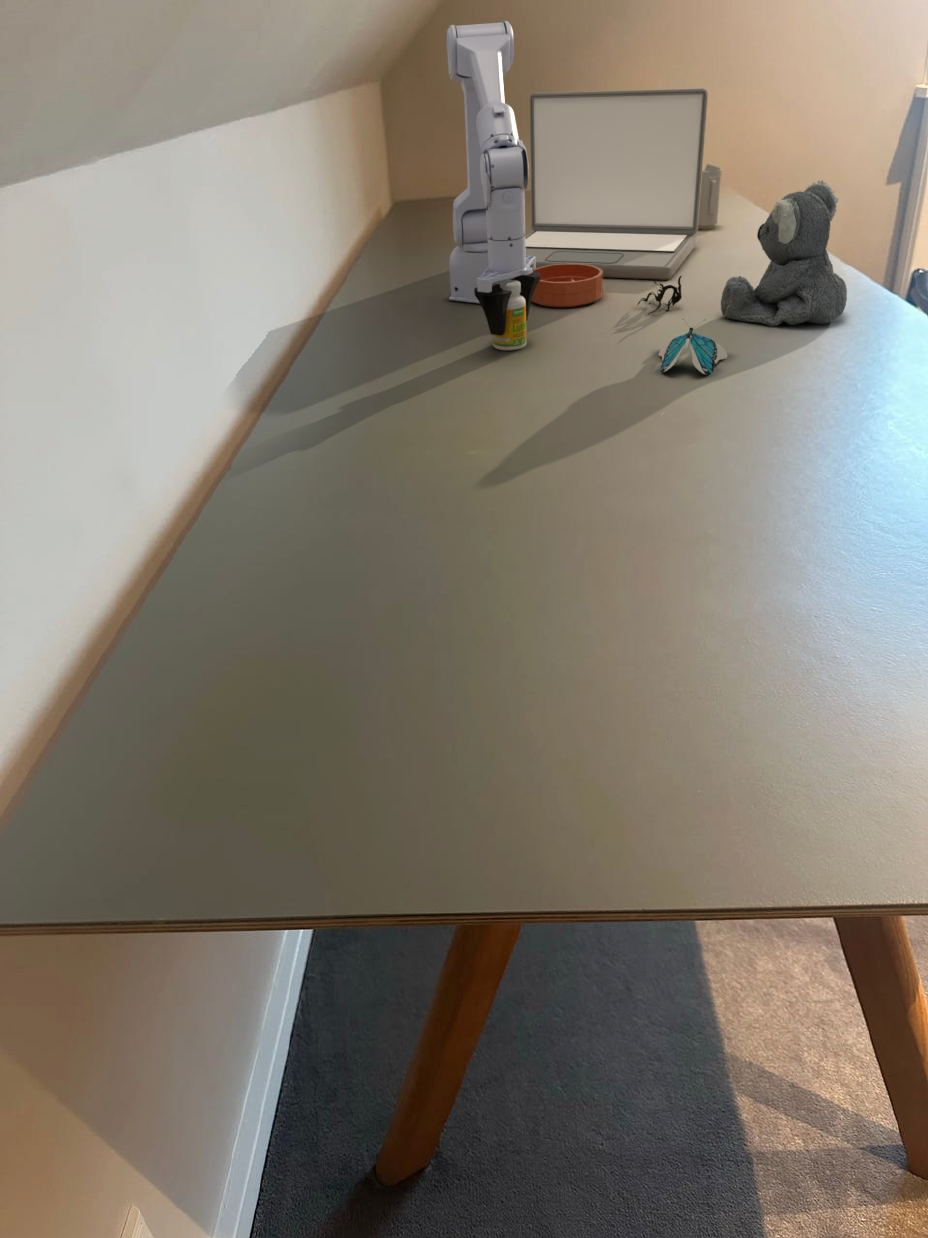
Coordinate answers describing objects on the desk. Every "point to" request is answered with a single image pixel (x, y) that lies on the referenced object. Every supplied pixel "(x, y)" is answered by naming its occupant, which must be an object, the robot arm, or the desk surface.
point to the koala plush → (792, 265)
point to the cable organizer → (709, 197)
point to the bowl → (568, 285)
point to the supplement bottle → (513, 320)
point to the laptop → (616, 179)
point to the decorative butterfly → (693, 351)
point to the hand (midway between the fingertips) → (509, 327)
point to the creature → (675, 297)
